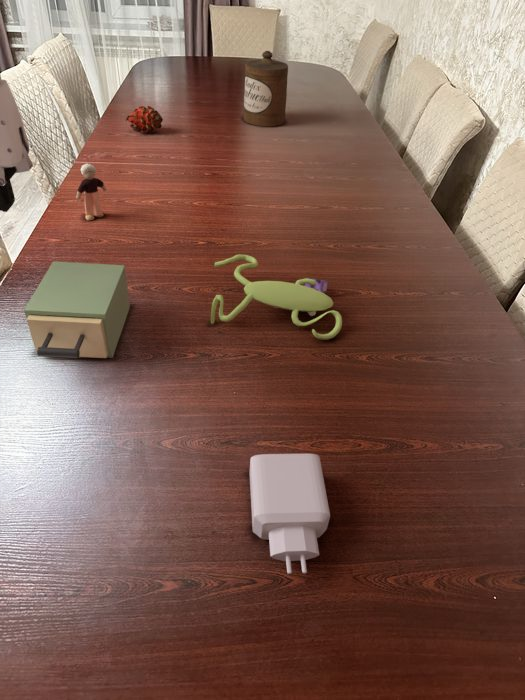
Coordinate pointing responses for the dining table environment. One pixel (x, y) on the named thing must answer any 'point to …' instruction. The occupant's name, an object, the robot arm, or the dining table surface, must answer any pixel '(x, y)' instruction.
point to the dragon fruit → (145, 119)
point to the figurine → (281, 296)
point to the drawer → (68, 336)
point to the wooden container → (265, 91)
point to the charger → (289, 505)
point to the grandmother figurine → (90, 192)
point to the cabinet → (84, 295)
